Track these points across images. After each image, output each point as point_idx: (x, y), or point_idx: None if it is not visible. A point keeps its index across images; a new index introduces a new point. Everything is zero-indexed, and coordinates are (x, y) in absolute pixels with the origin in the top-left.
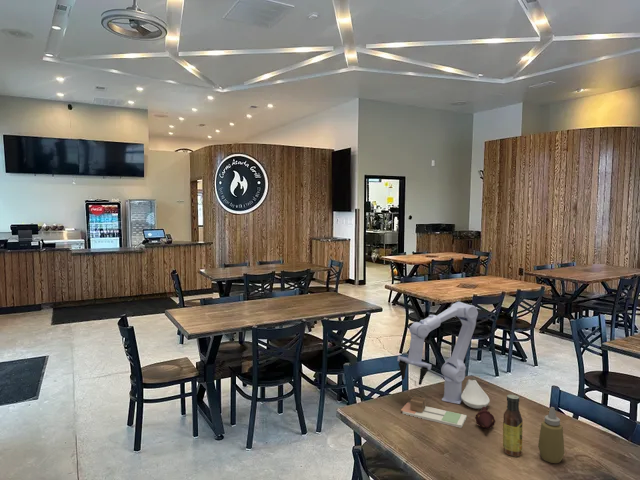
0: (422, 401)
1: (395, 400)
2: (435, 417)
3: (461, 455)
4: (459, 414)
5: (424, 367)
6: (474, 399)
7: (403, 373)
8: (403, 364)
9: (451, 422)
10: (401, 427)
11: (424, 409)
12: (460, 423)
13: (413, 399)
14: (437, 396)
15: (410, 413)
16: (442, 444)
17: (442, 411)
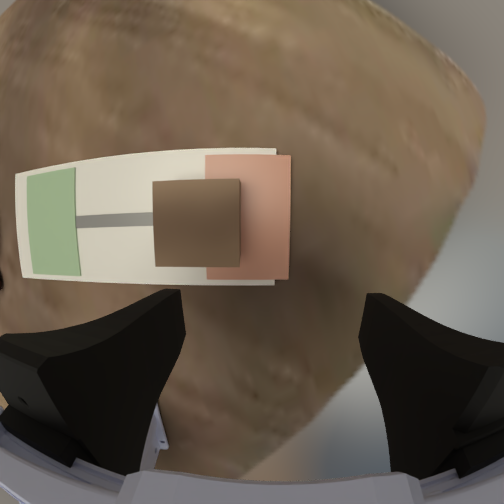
0: (157, 208)
1: (356, 294)
2: (101, 177)
3: (31, 23)
4: (36, 266)
5: (30, 439)
6: None
7: (395, 333)
8: (486, 396)
9: (42, 173)
10: (232, 29)
11: None
12: (19, 188)
13: (224, 208)
14: (187, 418)
15: (228, 148)
16: (70, 26)
17: (94, 264)
